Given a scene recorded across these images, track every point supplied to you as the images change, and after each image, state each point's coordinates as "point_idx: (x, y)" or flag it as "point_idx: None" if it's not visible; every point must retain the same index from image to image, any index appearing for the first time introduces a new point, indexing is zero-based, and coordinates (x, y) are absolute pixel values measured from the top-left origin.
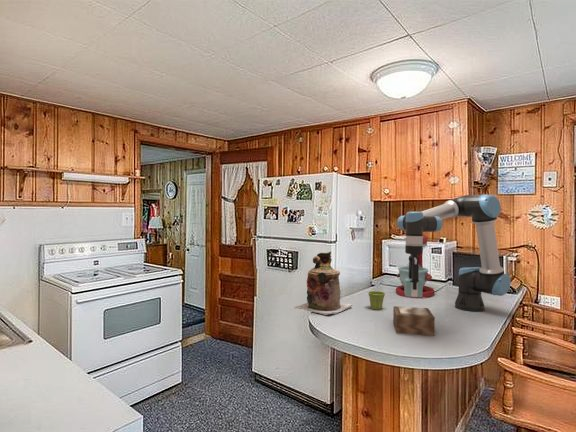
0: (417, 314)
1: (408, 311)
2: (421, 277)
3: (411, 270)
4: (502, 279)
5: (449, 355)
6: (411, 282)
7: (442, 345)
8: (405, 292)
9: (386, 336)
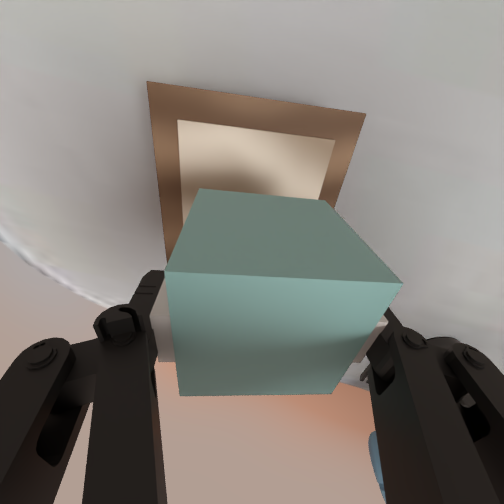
0: (182, 210)
1: (223, 177)
2: None
3: (423, 501)
4: (382, 494)
5: (2, 227)
6: (151, 312)
7: (91, 231)
8: (255, 201)
9: (98, 9)
